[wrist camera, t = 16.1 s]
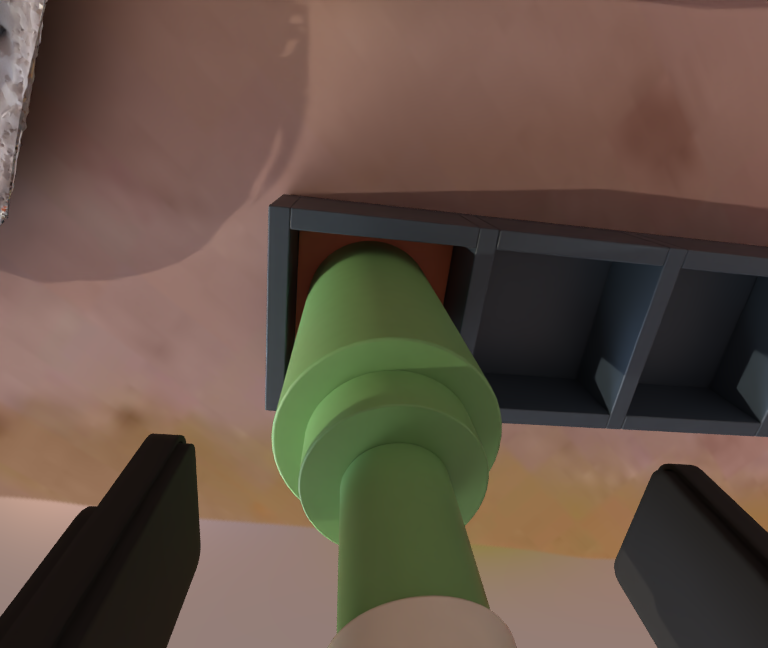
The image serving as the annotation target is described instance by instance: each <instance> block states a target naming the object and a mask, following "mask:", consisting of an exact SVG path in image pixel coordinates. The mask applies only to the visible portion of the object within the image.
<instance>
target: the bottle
mask: <svg viewBox="0 0 768 648" xmlns="http://www.w3.org/2000/svg"><path fill="white" fill-rule="evenodd" d="M501 433H502V420H501V413H500V408H499V404H498V401H497V398H496V396H495V394H494V392H493V390H492V387H491V386H490V384H489V382H488V380H487V379H486V377H485V375H484V374H483V372H482V370H481V369H480V367H479V365H478V364H477V362H476V360H475V359H474V357H473V355H472V354H471V352H470V350H469V349H468V347H467V345H466V344H465V342H464V340H463V338H462V337H461V335H460V333H459V332H458V330H457V328H456V327H455V325H454V323H453V322H452V320H451V318H450V317H449V315H448V313H447V312H446V310H445V308H444V307H443V305H442V303H441V301H440V300H439V298H438V296H437V295H436V293H435V291H434V290H433V288H432V286H431V285H430V283H429V281H428V280H427V278H426V276H425V275H424V273H423V271H422V270H421V268H420V267H419V265H418V264H417V263H416V261H415V260H414V259H413V258H412V257H411V256H410V255H408V254H407V253H406V252H404V251H403V250H401V249H400V248H398V247H395V246H393V245H391V244H387V243H384V242H378V241H361V242H356V243H351V244H348V245H346V246H343V247H341V248H339V249H338V250H336V251H334V252H333V253H332V254H330V255H329V256H328V257H327V258H326V259H325V260H324V261H323V262H322V263H321V264H320V266H319V267H318V269H317V270H316V272H315V274H314V276H313V278H312V280H311V284H310V288H309V291H308V295H307V299H306V302H305V306H304V310H303V314H302V317H301V321H300V325H299V328H298V332H297V336H296V339H295V343H294V347H293V351H292V354H291V358H290V362H289V365H288V369H287V373H286V377H285V380H284V384H283V388H282V391H281V395H280V399H279V402H278V406H277V410H276V414H275V417H274V421H273V427H272V450H273V454H274V459H275V462H276V465H277V467H278V470H279V472H280V475H281V476H282V478H283V480H284V481H285V483H286V485H287V486H288V487H289V489H290V490H291V491H292V492H293V494H294V495H295V496H296V497H297V498H298V499H299V500H300V502H301V504H302V507H303V510H304V512H305V514H306V515H307V517H308V519H309V520H310V522H311V523H312V524H313V525H314V527H315V528H316V529H317V530H318V531H319V532H320V533H321V534H322V535H324V536H325V537H327V538H328V539H329V540H331V541H332V542H334V543H336V544H338V545H339V558H338V602H337V603H338V604H337V634H336V636H335V637H334V638H333V640H332V641H331V643H330V644H329V646H328V648H517V647H516V644H515V641H514V638H513V636H512V633H511V631H510V630H509V628H508V627H507V625H506V624H505V623H504V622H503V621H502V620H501V618H500V617H499V616H497V615H496V614H495V613H494V612H492V611H491V610H490V607H489V604H488V601H487V598H486V594H485V591H484V588H483V585H482V582H481V578H480V575H479V572H478V568H477V565H476V562H475V559H474V555H473V552H472V549H471V545H470V542H469V539H468V536H467V532H466V529H465V525H466V524H467V523H468V522H469V521H470V520H471V518H472V517H473V516H474V515H475V513H476V512H477V510H478V509H479V507H480V505H481V503H482V501H483V499H484V496H485V493H486V490H487V485H488V479H489V471H490V469H491V467H492V465H493V463H494V461H495V459H496V456H497V453H498V450H499V446H500V440H501Z"/></svg>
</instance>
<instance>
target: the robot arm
mask: <svg viewBox="0 0 768 648" xmlns="http://www.w3.org/2000/svg"><path fill="white" fill-rule="evenodd" d="M199 556H200V529H199V510H198V492H197V475H196V457H195V447H194V445H193V444H186V440H185V438H184V436H182V435H167V434H150V435H149V436H148V437H147V438H146V439H145V441H144V442H143V443H142V445H141V446H140V448H139V449H138V450H137V452H136V453H135V455H134V456H133V457H132V459H131V460H130V462H129V463H128V464H127V466H126V467H125V469H124V470H123V471H122V473H121V474H120V476H119V477H118V478H117V480H116V481H115V483H114V484H113V485H112V487H111V488H110V490H109V491H108V492H107V494H106V495H105V496H104V498H103V499H102V501H101V502H100V503H99V505H98V506H97V507H96V506H89V507H87V508H85V509H84V510H82V511H81V512H80V513H79V514H78V515H77V517H76V518H75V519H74V520H73V521H72V523H71V524H70V525H69V527H68V528H67V529H66V531H65V532H64V533H63V535H62V536H61V537H60V539H59V540H58V541H57V543H56V544H55V545H54V547H53V548H52V549H51V551H50V552H49V553H48V555H47V556H46V557H45V559H44V560H43V561H42V563H41V564H40V565H39V566H38V568H37V569H36V571H35V572H34V573H33V574H32V576H31V577H30V579H29V580H28V581H27V582H26V584H25V585H24V587H23V588H22V589H21V590H20V592H19V593H18V594H17V596H16V597H15V598H14V600H13V601H12V602H11V604H10V605H9V606H8V608H7V609H6V610H5V612H4V613H3V614H2V615H1V617H0V648H166V647H167V645H168V642H169V639H170V636H171V634H172V631H173V629H174V626H175V624H176V621H177V618H178V616H179V613H180V610H181V608H182V605H183V602H184V599H185V597H186V595H187V592H188V589H189V586H190V584H191V581H192V579H193V576H194V573H195V571H196V568H197V565H198V561H199ZM614 569H615V575H616V578H617V580H618V581H619V584H620V585H621V587H622V589H623V590H624V592H625V594H626V595H627V597H628V599H629V600H630V602H631V604H632V605H633V607H634V609H635V610H636V612H637V614H638V615H639V617H640V619H641V620H642V622H643V624H644V625H645V627H646V629H647V630H648V632H649V634H650V636H651V637H652V639H653V640H654V642H655V644H656V645H657V647H658V648H768V532H767V531H765V530H764V529H763V528H762V527H761V526H760V525H759V524H758V523H757V522H756V521H755V520H754V519H753V518H752V517H751V516H750V515H749V514H748V513H746V512H745V511H744V510H743V509H742V508H741V507H740V506H739V505H738V504H737V503H736V502H735V501H734V500H733V499H732V498H731V497H730V496H729V495H727V494H726V493H725V492H724V491H723V490H722V489H721V488H720V487H719V486H718V485H717V484H716V483H715V482H714V481H713V480H712V479H711V478H710V477H708V476H707V475H706V474H705V473H704V472H703V471H702V470H701V469H699V468H698V467H696V466H693V465H682V464H663V465H662V466H661V467H660V468H659V469H658V471H655V472H654V473H653V474H652V476H651V478H650V481H649V483H648V485H647V488H646V490H645V492H644V495H643V497H642V499H641V502H640V504H639V506H638V508H637V511H636V513H635V515H634V518H633V520H632V522H631V525H630V527H629V529H628V532H627V534H626V536H625V539H624V541H623V543H622V546H621V548H620V550H619V553H618V555H617V557H616V560H615V563H614Z"/></svg>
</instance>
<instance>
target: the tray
mask: <svg viewBox="0 0 768 648" xmlns="http://www.w3.org/2000/svg"><path fill="white" fill-rule="evenodd" d="M361 241H378V242H384V243H387V244H391V245H393V246H395V247H398V248H400V249H401V250H403V251H404V252H406V253H407V254H408V255H410V256H411V257H412V258H413V259H414V260H415V261H416V263H417V264H418V265H419V267H420V268H421V270H422V271H423V273H424V275H425V276H426V278H427V280H428V281H429V283H430V285H431V286H432V288H433V290H434V291H435V293H436V295H437V296H438V298H439V300H440V301H441V303H442V305H443V307H444V308H445V310H446V312H447V313H448V315H449V317H450V318H451V320H452V322H453V323H454V325H455V327H456V328H457V330H458V332H459V333H460V335H461V337H462V338H463V340H464V342H465V344H466V345H467V347H468V349H469V350H470V352H471V354H472V355H473V357H474V359H475V360H476V362H477V364H478V365H479V367H480V369H481V370H482V372H483V374H484V375H485V377H486V379H487V380H488V382H489V384H490V386H491V387H492V390H493V392H494V394H495V396H496V398H497V401H498V404H499V408H500V413H501V420H502V423H513V424H531V425H550V426H569V427H587V428H608V429H628V430H647V431H665V432H684V433H703V434H721V435H740V436H760V437H768V247H764V246H754V245H745V244H736V243H727V242H718V241H709V240H699V239H690V238H681V237H672V236H663V235H653V234H644V233H635V232H626V231H617V230H607V229H598V228H589V227H580V226H571V225H561V224H552V223H543V222H534V221H525V220H515V219H506V218H497V217H488V216H479V215H470V214H460V213H451V212H442V211H433V210H424V209H414V208H405V207H396V206H387V205H378V204H368V203H359V202H350V201H341V200H332V199H322V198H313V197H304V196H295V195H286V194H284V195H282V196H281V197H280V198H278V199H277V200H276V201H274V202H273V203H272V204H270V205H269V210H268V269H267V329H266V388H265V410H271V411H276V410H277V406H278V402H279V399H280V395H281V391H282V388H283V384H284V380H285V377H286V373H287V369H288V365H289V362H290V358H291V354H292V351H293V347H294V343H295V339H296V336H297V332H298V328H299V325H300V321H301V317H302V314H303V310H304V306H305V302H306V299H307V295H308V291H309V288H310V284H311V280H312V278H313V276H314V274H315V272H316V270H317V269H318V267H319V266H320V264H321V263H322V262H323V261H324V260H325V259H326V258H327V257H328V256H329V255H330V254H332V253H333V252H334V251H336V250H338V249H339V248H341V247H343V246H346V245H348V244H351V243H356V242H361Z"/></svg>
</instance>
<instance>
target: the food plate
mask: <svg viewBox="0 0 768 648" xmlns="http://www.w3.org/2000/svg"><path fill="white" fill-rule="evenodd" d="M47 1H48V0H0V225H1V224H2V223H3V222H4V220H3V219H2V218H6V216H7V214H8V212H7V209H8V210H9V202H10V196H11V193H12V191H13V188H14V183H13V181H14V179H15V176H16V175H15V173H16V165H17V158H18V155H19V153H20V152H19V150H20V147H21V146H22V144H21V140H22V138H21V136H22V133H23V131H24V130H26V129H27V124H26V117H27V115H28V113H29V109H28V106H29V103H30V95H31V91H32V84H33V82H34V81H35V80H34V77H35V75H34V68H35V63H36V62H35V59H36V57H37V56H38V50H39V44H40V43H41V31H42V28H43V22H42V21H43V15H44V11H45V7H46V4H45V3H46V2H47ZM12 186H13V187H12ZM8 198H9V199H8ZM6 201H8V203H7V202H6Z"/></svg>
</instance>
